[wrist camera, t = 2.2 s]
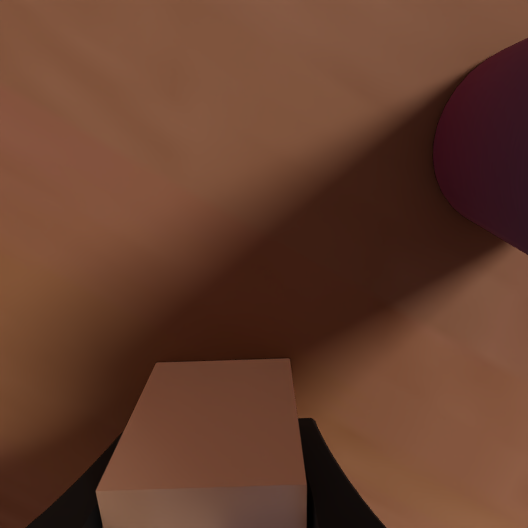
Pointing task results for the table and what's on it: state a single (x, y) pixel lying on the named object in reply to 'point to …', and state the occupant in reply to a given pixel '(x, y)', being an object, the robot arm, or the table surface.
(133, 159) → the table surface
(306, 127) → the table surface
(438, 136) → the cup
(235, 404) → the terracotta cube
